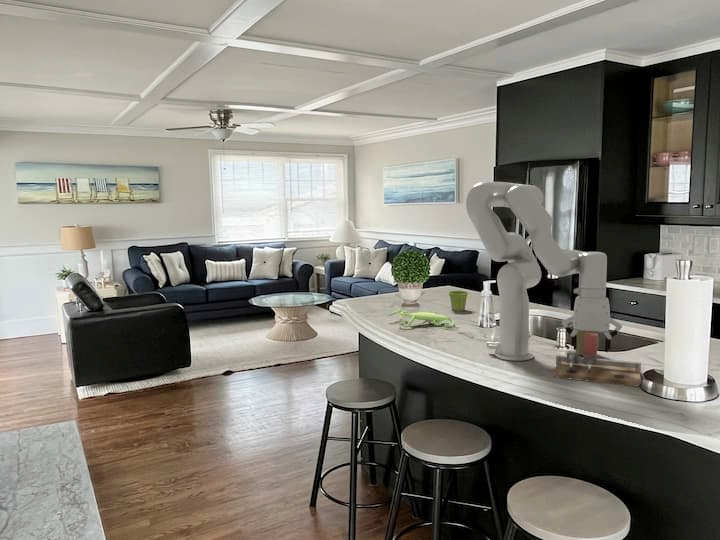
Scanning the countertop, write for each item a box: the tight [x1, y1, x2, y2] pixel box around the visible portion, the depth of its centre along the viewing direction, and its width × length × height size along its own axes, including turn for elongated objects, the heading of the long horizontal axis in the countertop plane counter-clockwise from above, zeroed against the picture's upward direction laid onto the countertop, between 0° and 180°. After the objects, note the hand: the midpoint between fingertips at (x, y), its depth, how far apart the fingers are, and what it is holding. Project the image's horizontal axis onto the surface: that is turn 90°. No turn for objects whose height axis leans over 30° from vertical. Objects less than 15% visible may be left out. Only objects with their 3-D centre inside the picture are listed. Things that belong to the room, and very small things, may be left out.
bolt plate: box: [553, 362, 642, 386], centre depth 167 cm, size 23×14×1 cm, turn 66°
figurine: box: [388, 310, 456, 330], centre depth 240 cm, size 18×27×6 cm
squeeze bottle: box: [574, 331, 600, 357], centre depth 187 cm, size 8×8×18 cm
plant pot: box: [448, 290, 469, 312], centre depth 267 cm, size 9×9×9 cm
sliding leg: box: [583, 333, 599, 373], centre depth 167 cm, size 4×9×10 cm, turn 156°
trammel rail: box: [555, 350, 642, 373], centre depth 167 cm, size 24×9×4 cm, turn 66°
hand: (590, 349), depth 170 cm, fingers open, 8 cm apart
